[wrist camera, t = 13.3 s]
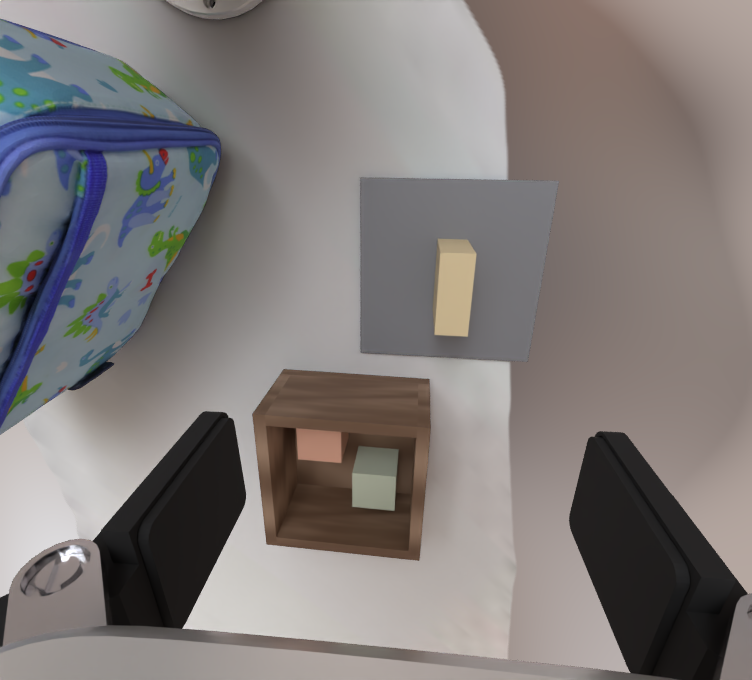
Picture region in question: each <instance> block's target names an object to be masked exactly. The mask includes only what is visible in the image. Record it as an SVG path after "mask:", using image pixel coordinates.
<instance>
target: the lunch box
mask: <svg viewBox="0 0 752 680" xmlns="http://www.w3.org/2000/svg"><path fill="white" fill-rule="evenodd" d="M220 156H221V144H220V140H219V138H218V137H217V135H216V134H214V133H213V132H212V131H210V130H208V129H206V128H201V127H200V125H199V124H198V123H197V122H196V121H195V120H194V119H193V118H192V117H191V116H190V115H189V114H187V113H186V112H185V111H184V110H182V109H181V108H180V107H179V106H178V105H177V104H175V103H174V102H173V101H172V100H171V99H170V98H168V97H167V96H166V95H165V94H164V93H162V92H161V91H160V90H159V89H158V88H156V87H155V86H154V85H152V84H151V83H150V82H148V81H147V80H146V79H144V78H143V77H142V76H141V75H140V74H139V73H137V72H136V71H135V70H134V69H133V68H131V67H130V66H129V65H127V64H126V63H124V62H123V61H121V60H119V59H116V58H114V57H111V56H109V55H106V54H103V53H100V52H97V51H95V50H92V49H89V48H87V47H84V46H81V45H78V44H75V43H72V42H69V41H67V40H64V39H61V38H58V37H55V36H52V35H49V34H46V33H43V32H40V31H37V30H34V29H31V28H28V27H25V26H22V25H19V24H16V23H12V22H9V21H6V20H3V19H0V435H1V434H2V433H4V432H5V431H7V430H8V429H9V428H11V427H13V426H14V425H16V424H17V423H19V422H20V421H21V420H23V419H24V418H26V417H27V416H29V415H30V414H31V413H33V412H34V411H36V410H37V409H38V408H40V407H41V406H43V405H44V404H46V403H47V402H49V401H50V400H52V399H53V398H55V397H56V396H58V395H59V394H61V393H62V392H64V391H65V390H67V389H68V390H76V389H79V388H81V387H83V386H84V385H86V384H87V383H89V382H90V381H92V380H93V379H95V378H96V377H98V376H99V375H100V374H102V373H103V372H105V371H106V370H108V369H109V368H110V367H112V366H113V365H114V363H112V362H107V361H108V360H109V359H110V358H111V357H112V356H113V355H115V354H116V353H117V352H118V351H119V350H120V348H121V347H122V346H123V345H124V344H125V343H126V342H127V341H128V340H129V339H130V338H131V337H132V336H133V335H134V334H135V333H136V331H137V330H138V329H139V327H140V326H141V324H142V322H143V320H144V318H145V316H146V313H147V311H148V309H149V306H150V303H151V301H152V299H153V297H154V295H155V292H156V290H157V288H158V286H159V284H160V282H161V281H162V279H163V277H164V275H165V274H166V273H167V272H168V270H169V269H170V267H171V266H172V264H173V263H174V261H175V260H176V258H177V257H178V254H179V252H180V250H181V248H182V246H183V244H184V243H185V241H186V239H187V238H188V236H189V234H190V232H191V230H192V229H193V227H194V225H195V223H196V221H197V220H198V218H199V216H200V214H201V212H202V210H203V208H204V206H205V203H206V201H207V198H208V194H209V191H210V189H211V187H212V184H213V182H214V179H215V176H216V174H217V170H218V167H219V162H220Z"/></svg>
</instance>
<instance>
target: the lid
mask: <svg viewBox="0 0 752 680" xmlns="http://www.w3.org/2000/svg"><path fill="white" fill-rule="evenodd" d="M558 184H559V181H539V180H473V179H415V178H360V229H361V353H379V354H397V355H415V356H433V357H451V358H469V359H487V360H504V361H522V362H528V358H529V352H530V346H531V341H532V335H533V329H534V323H535V317H536V311H537V305H538V300H539V294H540V288H541V282H542V277H543V270H544V265H545V259H546V254H547V247H548V242H549V235H550V230H551V224H552V219H553V213H554V207H555V201H556V195H557V190H558Z"/></svg>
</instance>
